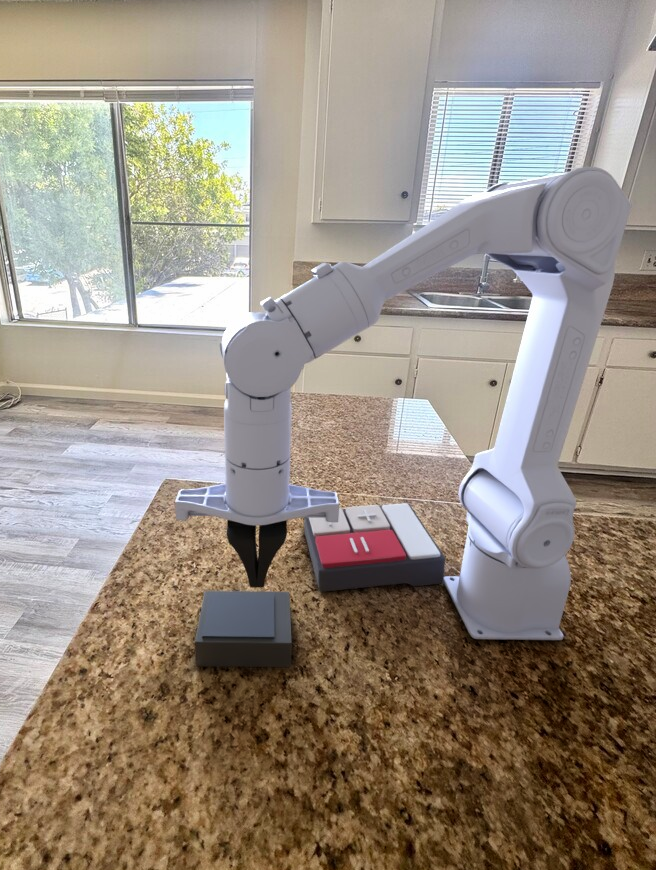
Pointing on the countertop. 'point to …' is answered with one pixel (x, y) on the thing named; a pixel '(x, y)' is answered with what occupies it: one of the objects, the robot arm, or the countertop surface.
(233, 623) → the block
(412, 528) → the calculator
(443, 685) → the countertop surface
